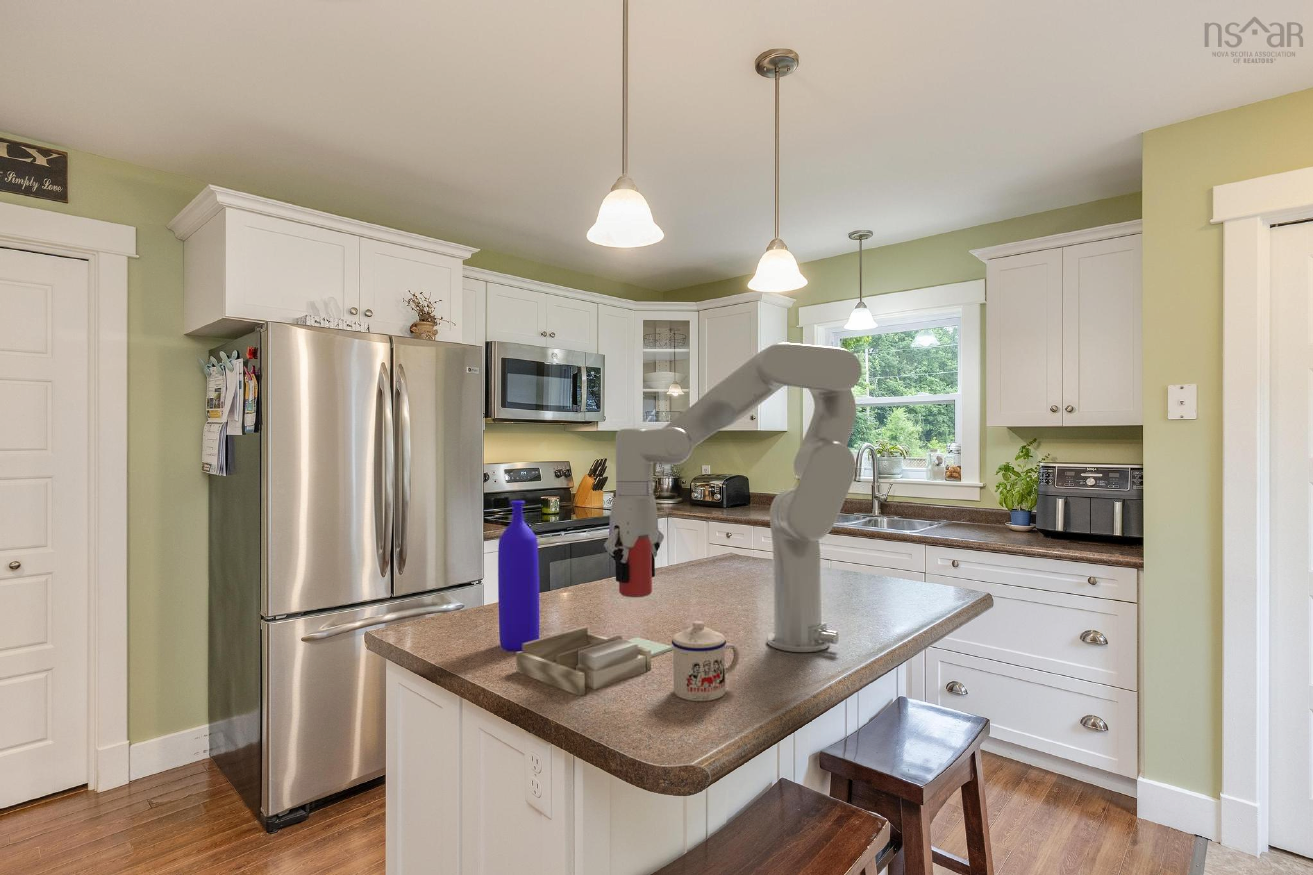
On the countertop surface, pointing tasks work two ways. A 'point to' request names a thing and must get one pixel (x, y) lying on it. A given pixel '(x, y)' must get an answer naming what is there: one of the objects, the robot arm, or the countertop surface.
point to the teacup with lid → (701, 663)
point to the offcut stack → (610, 663)
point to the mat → (651, 646)
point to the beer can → (639, 569)
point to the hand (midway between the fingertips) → (635, 578)
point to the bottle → (518, 583)
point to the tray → (562, 658)
